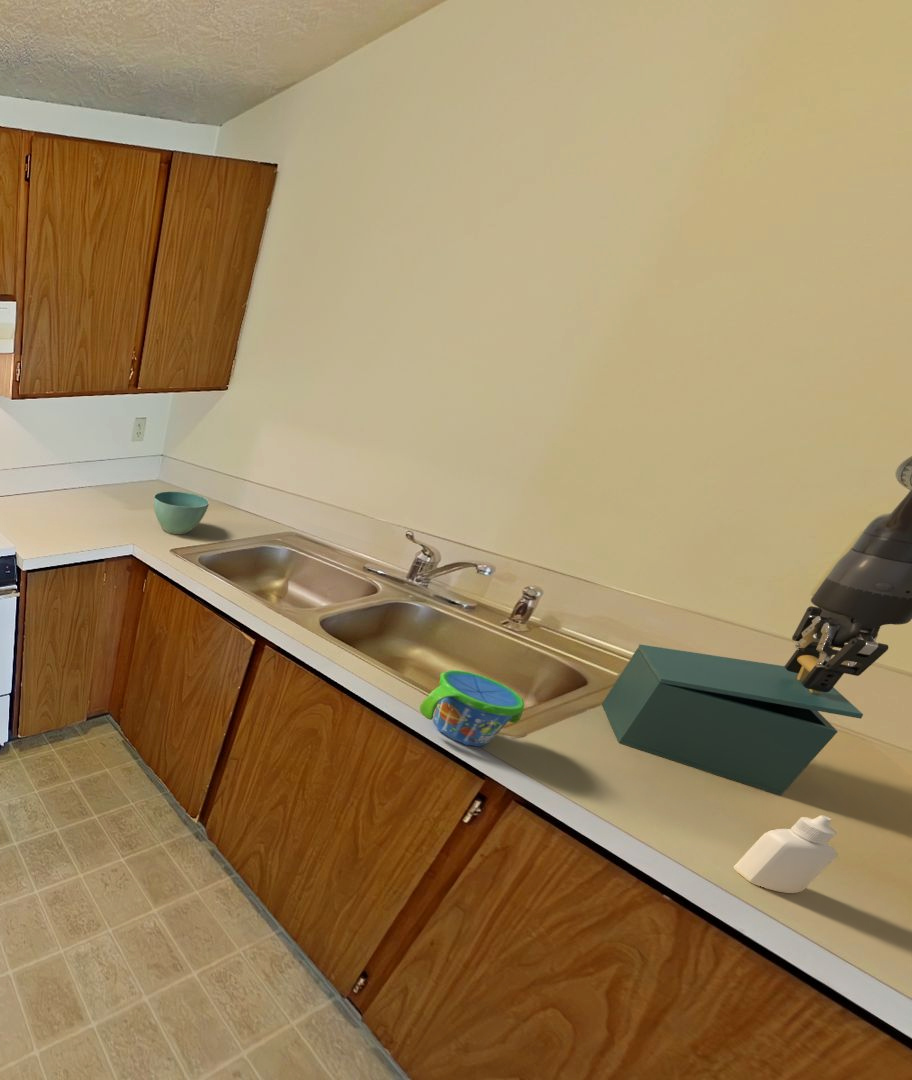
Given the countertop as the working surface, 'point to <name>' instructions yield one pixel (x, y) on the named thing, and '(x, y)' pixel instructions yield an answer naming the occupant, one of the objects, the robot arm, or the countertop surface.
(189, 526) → the green bowl
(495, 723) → the snack cup
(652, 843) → the countertop surface
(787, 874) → the eye dropper bottle
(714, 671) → the lid
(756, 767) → the chest
